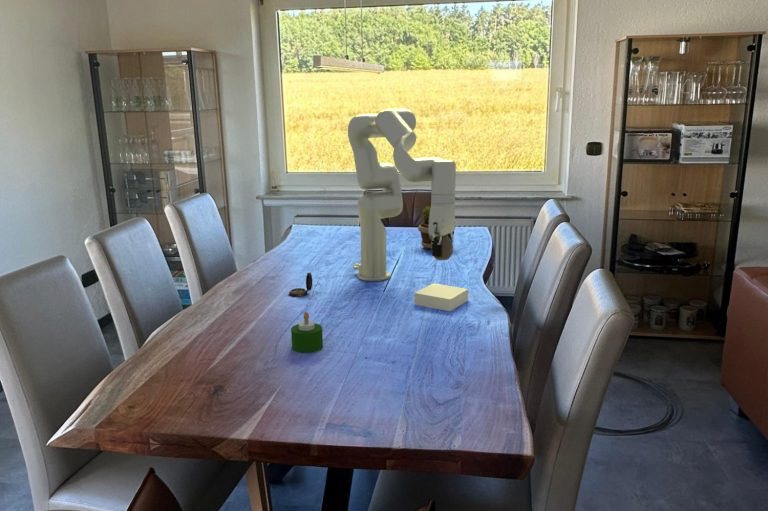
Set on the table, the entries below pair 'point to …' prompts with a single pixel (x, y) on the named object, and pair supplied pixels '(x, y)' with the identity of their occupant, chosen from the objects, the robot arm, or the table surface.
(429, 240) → the flowerpot
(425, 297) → the plinth
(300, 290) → the compass
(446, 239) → the vase
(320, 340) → the candle
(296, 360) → the table surface
